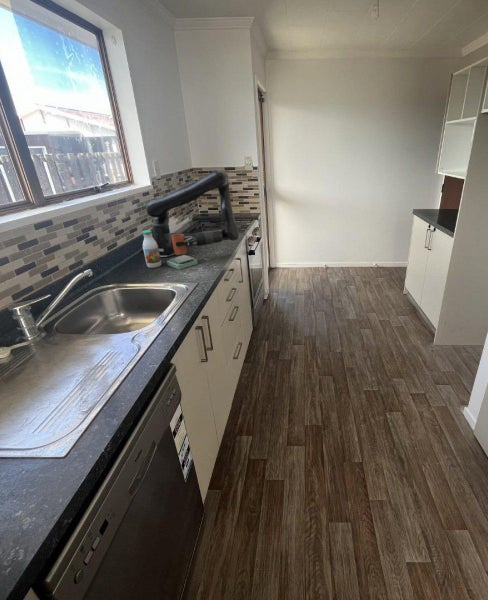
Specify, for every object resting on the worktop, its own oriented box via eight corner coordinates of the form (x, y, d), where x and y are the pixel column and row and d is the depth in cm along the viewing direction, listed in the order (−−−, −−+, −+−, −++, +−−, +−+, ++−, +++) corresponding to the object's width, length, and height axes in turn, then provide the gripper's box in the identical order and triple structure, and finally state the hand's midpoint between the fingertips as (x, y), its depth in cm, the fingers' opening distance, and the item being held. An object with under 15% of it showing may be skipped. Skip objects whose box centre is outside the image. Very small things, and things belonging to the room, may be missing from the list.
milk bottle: (144, 267, 184) (135, 232, 176) (154, 263, 191) (147, 228, 182) (154, 268, 181) (146, 233, 173) (164, 264, 188) (157, 229, 179)
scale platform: (169, 260, 186) (168, 259, 185) (184, 255, 193) (184, 254, 192) (178, 263, 180) (178, 262, 180) (194, 259, 187) (194, 258, 187)
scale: (167, 265, 187) (166, 260, 185) (185, 259, 195) (185, 255, 194) (179, 269, 180) (178, 264, 179) (197, 263, 188) (197, 259, 187)
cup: (172, 253, 184) (168, 235, 180) (182, 250, 189) (179, 233, 184) (178, 255, 180) (175, 237, 176) (189, 252, 185) (186, 234, 181)
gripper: (199, 229, 192) (170, 233, 185) (207, 234, 181) (176, 239, 174) (201, 242, 196) (173, 246, 188) (209, 247, 185) (178, 252, 177)
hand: (174, 243), depth 181 cm, fingers closed on cup, 6 cm apart
